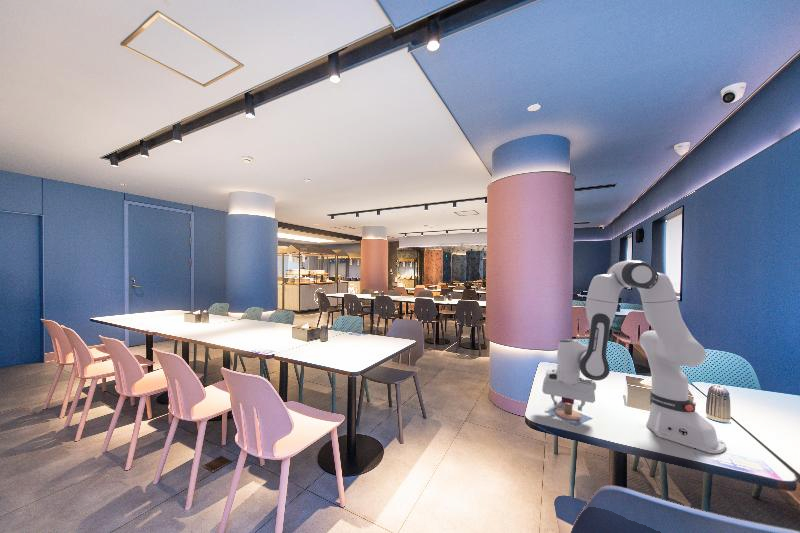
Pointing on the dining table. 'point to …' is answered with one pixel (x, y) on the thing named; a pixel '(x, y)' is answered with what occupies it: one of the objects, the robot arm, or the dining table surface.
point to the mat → (582, 420)
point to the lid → (568, 412)
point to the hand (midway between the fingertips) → (567, 407)
